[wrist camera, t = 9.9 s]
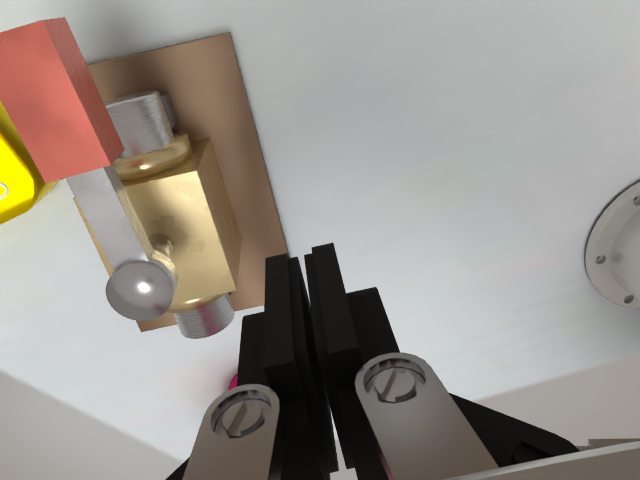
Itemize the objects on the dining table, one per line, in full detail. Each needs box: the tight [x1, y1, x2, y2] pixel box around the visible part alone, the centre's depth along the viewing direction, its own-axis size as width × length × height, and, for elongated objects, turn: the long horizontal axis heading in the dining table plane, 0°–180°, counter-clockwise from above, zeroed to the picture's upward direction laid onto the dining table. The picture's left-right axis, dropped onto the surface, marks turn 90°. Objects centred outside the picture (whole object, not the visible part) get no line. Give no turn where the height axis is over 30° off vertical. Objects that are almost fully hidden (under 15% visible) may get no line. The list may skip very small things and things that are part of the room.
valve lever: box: [0, 18, 178, 321], centre depth 23 cm, size 14×3×2 cm, turn 15°
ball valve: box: [73, 90, 242, 339], centre depth 31 cm, size 7×16×10 cm, turn 12°
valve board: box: [87, 32, 290, 332], centre depth 36 cm, size 13×20×2 cm, turn 11°
